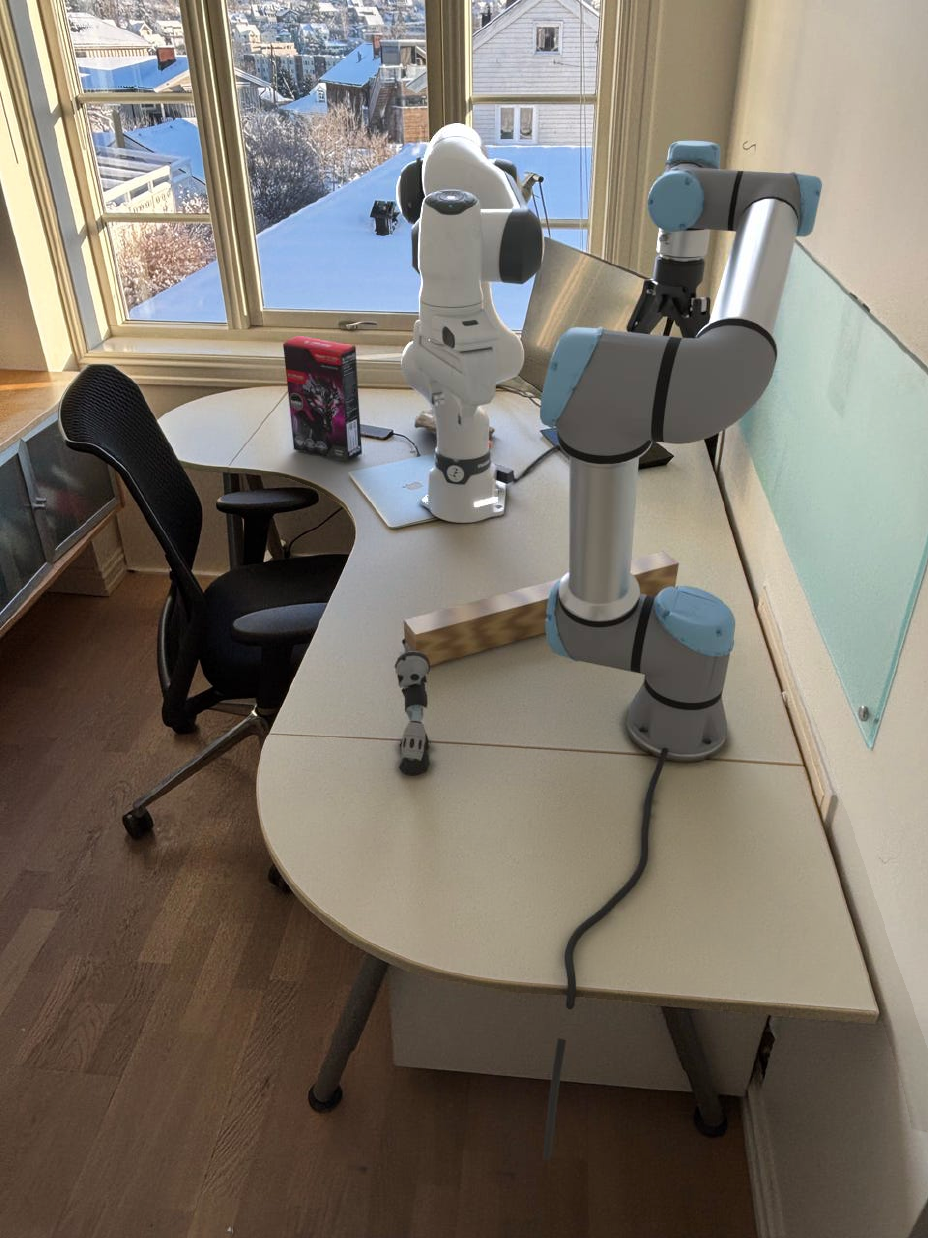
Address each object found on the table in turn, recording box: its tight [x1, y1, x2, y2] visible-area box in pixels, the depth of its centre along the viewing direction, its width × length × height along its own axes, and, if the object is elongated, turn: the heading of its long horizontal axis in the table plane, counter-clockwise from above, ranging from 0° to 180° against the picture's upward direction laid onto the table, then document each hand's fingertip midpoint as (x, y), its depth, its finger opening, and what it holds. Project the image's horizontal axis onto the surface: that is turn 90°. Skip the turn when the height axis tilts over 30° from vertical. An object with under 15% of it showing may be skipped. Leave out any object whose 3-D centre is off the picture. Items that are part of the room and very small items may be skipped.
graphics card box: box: [282, 335, 363, 463], centre depth 222 cm, size 17×7×27 cm, turn 62°
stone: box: [413, 409, 496, 439], centre depth 236 cm, size 21×15×6 cm
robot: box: [394, 638, 431, 776], centre depth 132 cm, size 20×5×20 cm, turn 3°
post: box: [403, 551, 680, 667], centre depth 165 cm, size 54×5×7 cm, turn 116°
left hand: (451, 414), depth 136 cm, fingers open, 8 cm apart
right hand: (662, 390), depth 152 cm, fingers open, 13 cm apart
